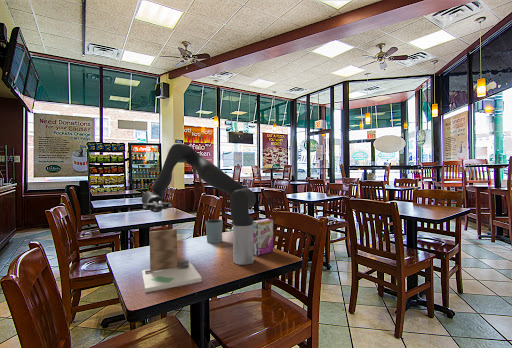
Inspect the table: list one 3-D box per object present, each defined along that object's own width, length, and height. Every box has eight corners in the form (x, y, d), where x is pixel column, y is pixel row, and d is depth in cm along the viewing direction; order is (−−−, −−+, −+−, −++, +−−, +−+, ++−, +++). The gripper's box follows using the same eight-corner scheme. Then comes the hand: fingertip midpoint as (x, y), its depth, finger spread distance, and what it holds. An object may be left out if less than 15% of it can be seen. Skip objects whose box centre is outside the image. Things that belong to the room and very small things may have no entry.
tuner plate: (190, 266, 124) (190, 262, 124) (201, 281, 107) (201, 277, 107) (141, 274, 115) (141, 270, 115) (145, 292, 98) (145, 288, 98)
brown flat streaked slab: (187, 263, 121) (186, 226, 121) (189, 267, 117) (188, 228, 117) (144, 270, 114) (143, 231, 113) (145, 274, 110) (144, 233, 109)
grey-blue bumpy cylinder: (209, 244, 156) (208, 223, 156) (203, 240, 165) (202, 220, 165) (225, 242, 161) (225, 221, 161) (219, 238, 170) (219, 218, 169)
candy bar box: (257, 256, 135) (256, 222, 135) (250, 254, 139) (250, 221, 139) (274, 251, 143) (273, 219, 142) (267, 249, 146) (266, 218, 146)
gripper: (140, 196, 134) (143, 200, 118) (169, 195, 139) (175, 198, 124) (140, 212, 134) (143, 218, 118) (169, 210, 140) (175, 215, 124)
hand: (159, 208), depth 121 cm, fingers closed
